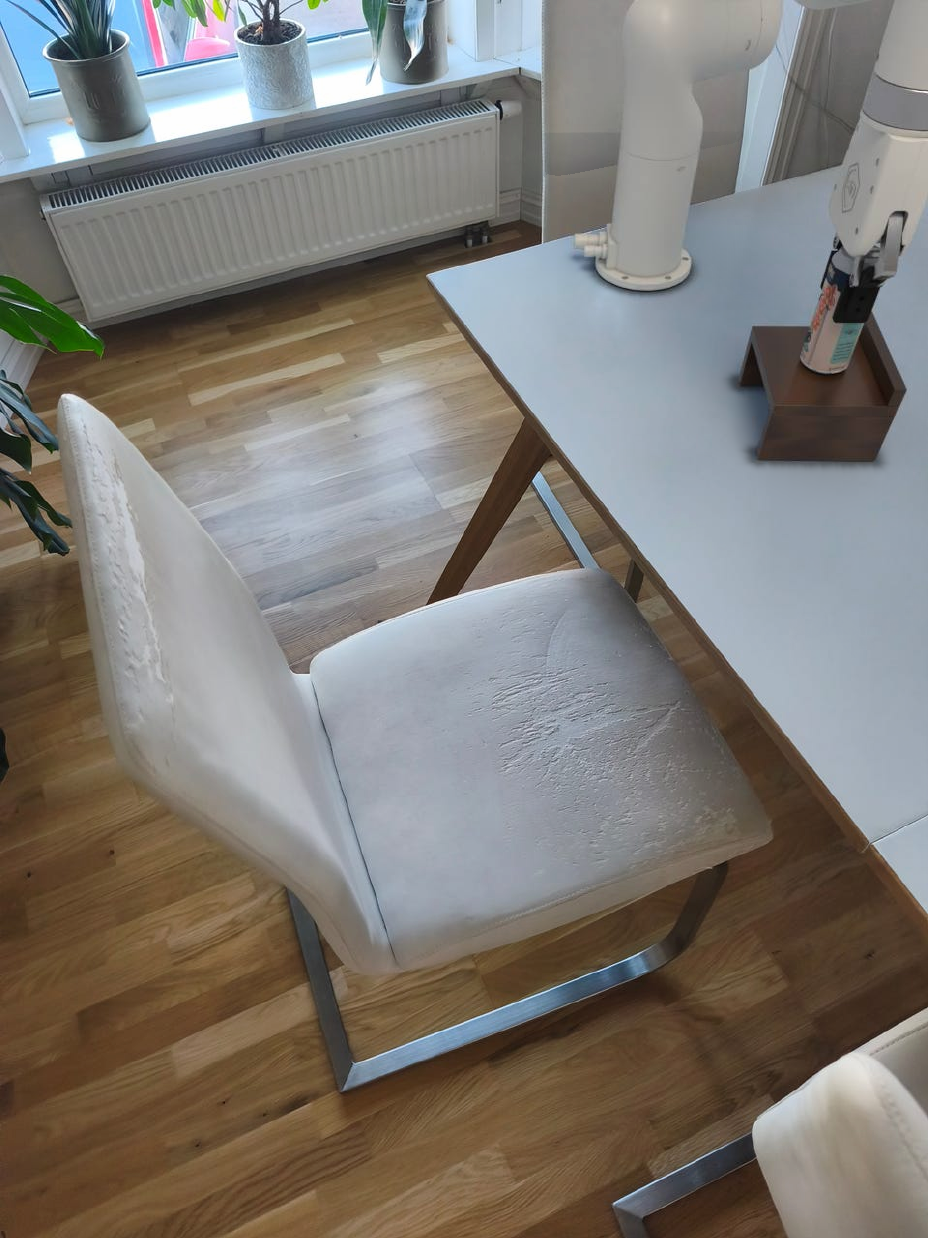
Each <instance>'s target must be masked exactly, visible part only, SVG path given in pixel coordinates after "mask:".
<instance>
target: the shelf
mask: <svg viewBox="0 0 928 1238" xmlns="http://www.w3.org/2000/svg"><path fill="white" fill-rule="evenodd" d="M809 327H810V325H803V326H802V325H752V326H751V330H750V334H749V338H748V342H747V345H746V350H745V353H744V356H743V360H742V364H741V368H740V372H739V376H738V379H737V380H738V385H739V386H740V387H764V391H765V394H766V398H767V402H768V406H769V411H768V414H767V415H766V416H767V417H766V420H765V423H764V427H763V429H762V432H761V436H760V439H759V442H758V446H757V449H756V452H755V454H756V456H757V457H756V458H757V460H758V461H803V462H804V461H807V462H809V461H810V462H811V461H812V462H813V461H814V462H874V463H875V461H876V459H877V457H878V455H879V452H880V450H881V448H882V446H883V444H884V442H885V439H886V437H887V435H888V432H889V431H890V428H891V427H892V424H893V421H894V420H895V417H896V415H897V414H898V412H899V408H900V406H901V404H902V402H903V399H904V397H905V396H906V393H907V391H908V389H907V387H906V384H905V381H904V380H903V378H902V375H901V373H900V371H899V369H898V367H897V364H896V362H895V360H894V357H893V355H892V353H891V351H890V349H889V347H888V344H887V342H886V339H885V337H884V335H883V333H882V330H881V328H880V325H879V324H878V322H877V320H876V316H875V315H874V313H873V310H872V311H871V313H870V316H869V319H868V321H867V322H865V323H864V325H863V328H862V331H861V333H860V336H859V338H858V341H857V344H856V346H855V349H854V351H853V354H852V357H851V359H850V362H849V364H848V366H847V368H846V369H845V370H843V371H841V372H837V373H831V374H822V373H818V372H815V371H813V370H811V369H809V368H808V367H807V366H806V365H804V364H803V362H802V360H801V357H800V355H801V352H802V349H803V346H804V343H805V340H806V337H807V334H808V330H809Z"/></svg>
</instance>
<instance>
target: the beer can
mask: <svg viewBox="0 0 928 1238" xmlns="http://www.w3.org/2000/svg"><path fill="white" fill-rule="evenodd" d="M872 248H880V246H877V245H876V244H875V245H874V246H873V247H872ZM854 259H855V257H852V256H850V255H849V254H848V253H847V251H846V250H845V248H844V246H842V247H841V248H840V250H839V251H838V252H837V253H835V254H834V256H833V257H832V260H831V263H830V266H829V269H828V272H827V276H826V279H825V282H824V285H823V288H822V290H821V291H820V293H819V294H820V295H819V297H818V300H817V304H816V306H815V310H814V312H813V316H812V318H811V321H810V324H809V326H810V327H809V330H808V334H807V337H806V340H805V343H804V346H803V349H802V352H801V355H800V357H801V360H802V362H803V364H804V365H806V366H807V367H808V368H809V369H811V370H813V371H815V372H818V373H822V374H831V373H837V372H841V371H843V370H845V369H846V368H847V366H848V364H849V362H850V359H851V357H852V354H853V351H854V349H855V346H856V344H857V341H858V338H859V336H860V333H861V331H862V328H863V325H864V323H834V321H833V318H832V317H833V314H834V311H835V308H836V305H837V302H838V299H839V296H840V293H841V290H842V287H843V285H844V282H845V281H849V280H850V276H851V272H852V267H853V263H854ZM878 259H879V258H865V262H864V266H863V270H864V269H865V268H866V267H868V266H874V265H875V264H876V263H877V262H878Z"/></svg>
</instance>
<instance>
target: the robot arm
mask: <svg viewBox="0 0 928 1238" xmlns="http://www.w3.org/2000/svg"><path fill="white" fill-rule="evenodd" d="M794 1H795V3H797V5H800V6H802V7H804V8H806V9H809V10H810V9H811V10H817V11H821V10H829V9H835V8H840V7H845V6H852V5H857V4H862V3H869V2H873V1H875V0H794ZM783 10H784V0H634V1H633V2H632V3H631V5H630V6H629V8H628V10H627V12H626V15H625V17H624V21H623V25H622V35H621V36H622V37H621V39H622V40H621V42H622V43H621V44H622V45H621V47H622V65H623V105H622V106H623V108H622V119H621V129H620V140H619V152H618V161H617V170H616V180H615V188H614V198H613V207H612V208H613V209H612V216H611V223H606V230H605V231H598V233H597V234H595V233H594V234H593V233H592V234H589V233H574V237H573V249H574V250H583V257H584V258H594V257H595V264H594V265H595V270H596V271H597V273H598V274H599V276H601V277H602V278H603V279H604V280H605V281H607V282H609V283H611V284H613V285H614V286H616V287H617V286H618V287H620V288H623V289H628V290H631V291H632V290H633V291H641V292H642V291H643V292H644V291H645V292H647V291H648V292H649V291H661V290H665V289H669V288H672V287H674V286H677V285H678V284H681V283H682V282H683V281H685V279H687V278H688V276H689V275H690V272H691V268H692V257H691V255H690V254H689V252H688V251H687V250H686V249H685V248H684V247H683V246H684V241H685V234H686V230H687V223H688V218H689V212H690V208H691V201H692V196H693V190H694V184H695V180H696V173H697V169H698V168H697V167H698V162H699V156H700V151H701V145H702V144H701V143H702V139H703V131H704V121H703V115H702V112H701V109H700V107H699V105H698V103H697V101H696V99H695V95H694V93H693V87H694V85H695V84H696V83H699V82H702V81H706V80H709V79H713V78H718V77H723V76H729V75H734V74H738V73H739V74H740V73H743V72H746V71H750V70H752V69H755V68H757V67H759V66H760V65H762V64H763V63H764V62H765V61H766V60H767V59H768V58H769V57H770V55H771V54H772V52H773V50H774V48H775V47H776V44H777V41H778V39H779V34H780V32H781V31H780V30H781V26H782V20H783V19H782V18H783ZM865 92H866V93H865V96H864V99H863V101H862V105H861V109H860V113H859V120H858V122H857V124H856V126H855V129H854V131H853V134H852V136H851V139H850V141H849V144H848V147H847V149H846V152H845V155H844V157H843V161H842V164H841V167H840V169H839V171H838V174H837V178H836V180H835V183H834V186H833V190H832V191H831V195H830V198H829V202H828V215H829V218H830V219H831V223H832V224H833V227H834V229H835V231H836V233H835V234H834V237H833V241H832V249H833V250H831V251H830V254H829V257H828V260H827V263H826V266H825V270H824V271H823V276H822V279H821V281H820V285H819V288H820V290H821V291H822V288H823V285H824V282H825V279H826V276H827V272H828V269H829V266H830V263H831V260H832V257H833V256H834V254H835V253H837V252H838V251H839V250H840V248H841V247H842V246H844V248H845V250H846V251H847V253H848V254H849V255H850V256H852V257H855V259H854V263H853V267H852V272H851V276H850V280H849V281H845V282H844V285H843V287H842V290H841V293H840V296H839V299H838V302H837V305H836V308H835V311H834V314H833V317H832V318H833V321H834V323H865V322H867V321H868V319H869V316H870V313H871V311H872V312H873V308H874V306H875V303H876V300H877V297H878V295H879V293H880V290H881V288H883V287H884V285H885V282H886V281H887V280H889V279H891V278H894V277H895V276H896V275H897V272H898V266H899V258H900V257H901V256H903V255H904V254H905V253H906V252H907V250H908V248H909V247H910V244H911V242H912V240H913V238H914V235H915V233H916V231H917V228H918V226H919V223H920V221H921V218H922V216H923V213H924V210H925V208H926V204H927V201H928V0H894V2H893V5H892V8H891V11H890V15H889V18H888V21H887V24H886V27H885V31H884V34H883V36H882V40H881V43H880V46H879V50H878V53H877V57H876V60H875V64H874V67H873V69H872V73H871V76H870V80H869V82H868V86H867V89H866V91H865ZM876 244H880V245H879V248H872V247H873V246H874V245H875V246H876ZM865 258H879V259H878V262H877V263H876V264H875V265H874V266H868V267H866V268H865V269H864V270H863V266H864V262H865Z"/></svg>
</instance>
